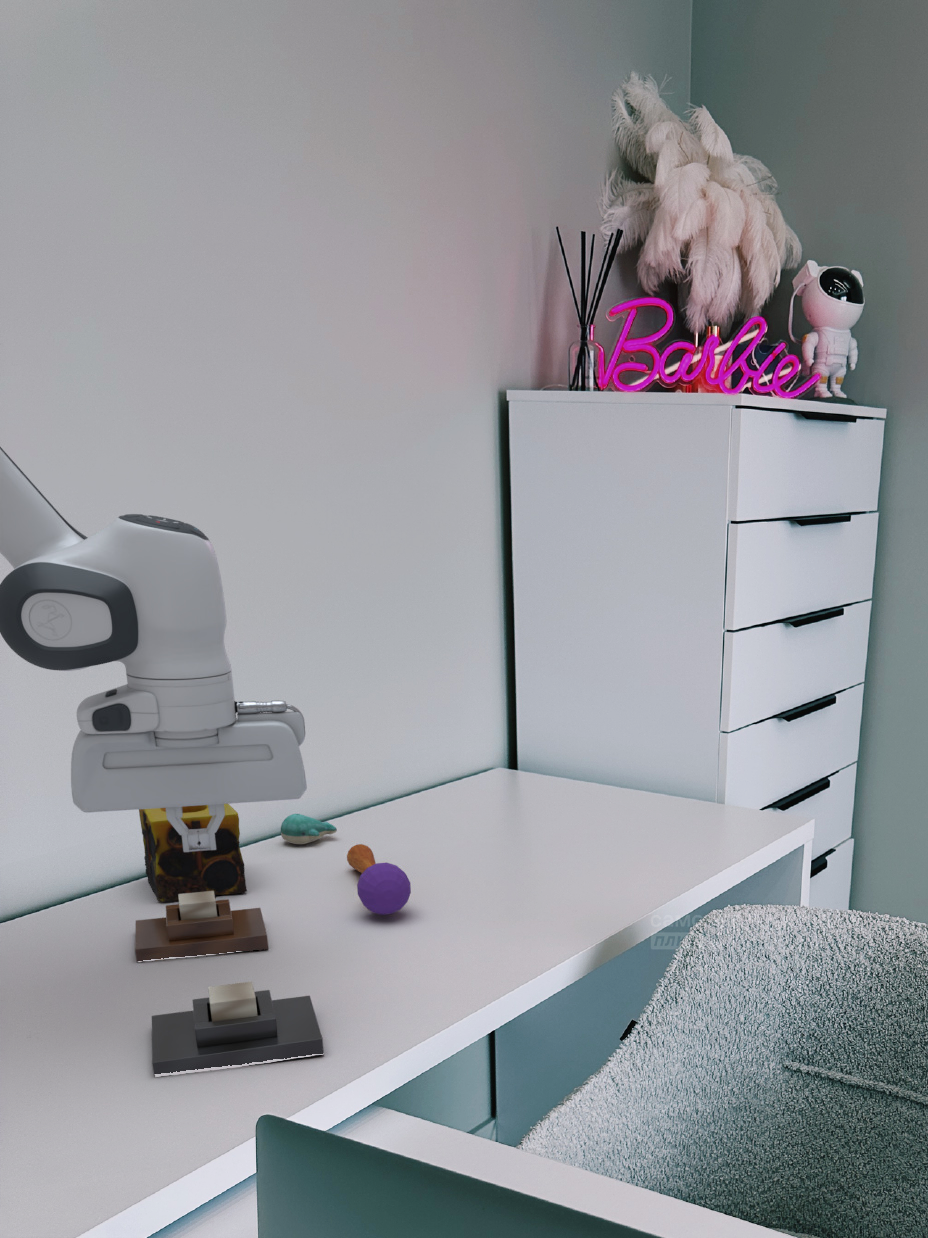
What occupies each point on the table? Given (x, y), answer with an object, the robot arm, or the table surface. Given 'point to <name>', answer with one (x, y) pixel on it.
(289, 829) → the whale figurine
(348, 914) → the table surface
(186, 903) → the back key
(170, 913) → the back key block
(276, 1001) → the dark grey socket base
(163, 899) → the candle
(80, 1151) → the table surface
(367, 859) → the purple maraca
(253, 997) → the front key
